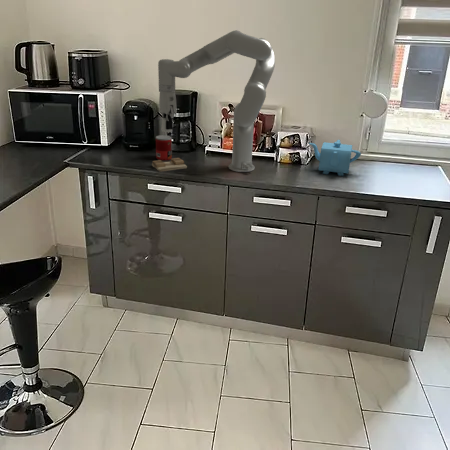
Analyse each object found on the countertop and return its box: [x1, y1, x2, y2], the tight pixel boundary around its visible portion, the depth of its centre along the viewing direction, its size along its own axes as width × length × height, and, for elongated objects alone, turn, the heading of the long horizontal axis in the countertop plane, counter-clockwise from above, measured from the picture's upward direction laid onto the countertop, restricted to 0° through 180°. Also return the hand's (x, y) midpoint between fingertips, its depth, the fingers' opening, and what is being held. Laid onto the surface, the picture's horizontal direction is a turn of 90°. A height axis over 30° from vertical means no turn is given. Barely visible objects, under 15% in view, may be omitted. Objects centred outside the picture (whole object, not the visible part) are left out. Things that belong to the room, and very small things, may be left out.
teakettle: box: [308, 139, 362, 177], centre depth 234 cm, size 19×19×15 cm
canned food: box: [155, 134, 173, 161], centre depth 245 cm, size 8×8×11 cm
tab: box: [160, 117, 173, 133], centre depth 228 cm, size 4×4×7 cm
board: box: [151, 157, 188, 173], centre depth 235 cm, size 10×14×2 cm
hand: (167, 127), depth 228 cm, fingers closed on tab, 3 cm apart
